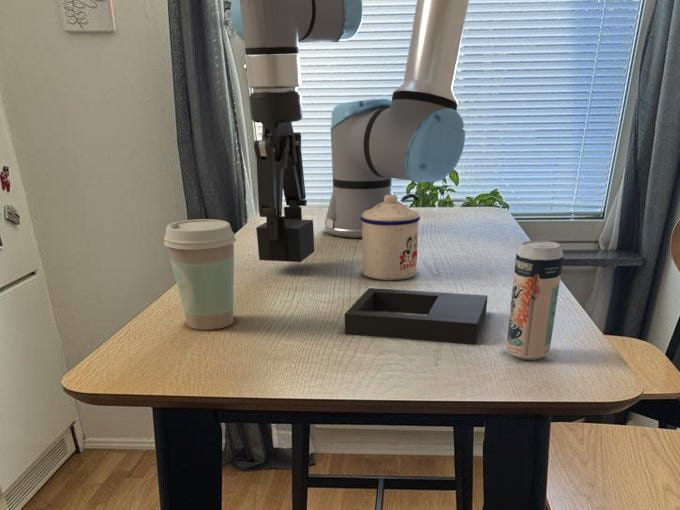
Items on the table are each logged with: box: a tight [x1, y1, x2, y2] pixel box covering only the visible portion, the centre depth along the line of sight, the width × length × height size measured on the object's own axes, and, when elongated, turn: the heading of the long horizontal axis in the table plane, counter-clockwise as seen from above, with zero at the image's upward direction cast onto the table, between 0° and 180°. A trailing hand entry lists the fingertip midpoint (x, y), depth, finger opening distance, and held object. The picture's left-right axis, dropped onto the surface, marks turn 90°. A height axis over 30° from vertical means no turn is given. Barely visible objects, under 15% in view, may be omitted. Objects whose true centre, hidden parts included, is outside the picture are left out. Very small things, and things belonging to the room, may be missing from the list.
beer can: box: [505, 239, 564, 361], centre depth 72 cm, size 5×5×12 cm
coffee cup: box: [163, 218, 237, 331], centre depth 83 cm, size 8×9×12 cm
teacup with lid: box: [361, 194, 421, 281], centre depth 105 cm, size 12×9×12 cm
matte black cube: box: [255, 219, 316, 263], centre depth 107 cm, size 7×7×5 cm
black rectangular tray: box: [344, 287, 488, 345], centre depth 85 cm, size 12×16×2 cm
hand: (287, 254), depth 108 cm, fingers closed on matte black cube, 7 cm apart
